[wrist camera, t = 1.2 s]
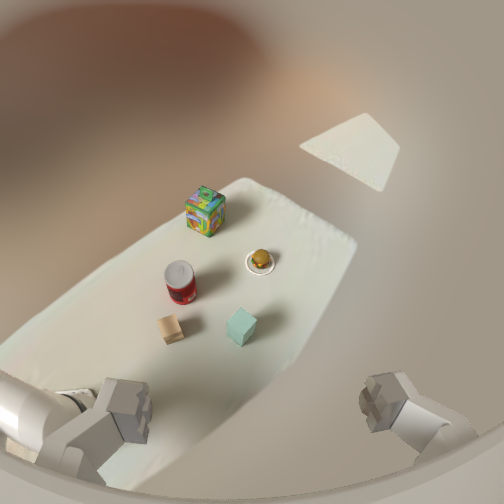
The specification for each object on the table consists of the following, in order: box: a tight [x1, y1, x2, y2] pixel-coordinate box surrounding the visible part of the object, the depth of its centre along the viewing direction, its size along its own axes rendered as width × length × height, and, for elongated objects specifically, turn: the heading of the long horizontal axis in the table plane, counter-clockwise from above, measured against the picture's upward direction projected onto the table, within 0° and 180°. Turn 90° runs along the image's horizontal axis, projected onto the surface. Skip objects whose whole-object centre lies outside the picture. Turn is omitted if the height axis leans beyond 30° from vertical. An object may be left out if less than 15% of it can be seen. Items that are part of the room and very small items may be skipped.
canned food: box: [164, 261, 197, 305], centre depth 77 cm, size 8×8×11 cm
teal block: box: [227, 308, 257, 347], centre depth 73 cm, size 5×5×10 cm
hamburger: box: [245, 249, 275, 275], centre depth 88 cm, size 12×12×6 cm
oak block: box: [157, 314, 184, 345], centre depth 73 cm, size 5×5×6 cm
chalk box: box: [185, 186, 226, 238], centre depth 91 cm, size 9×9×15 cm
